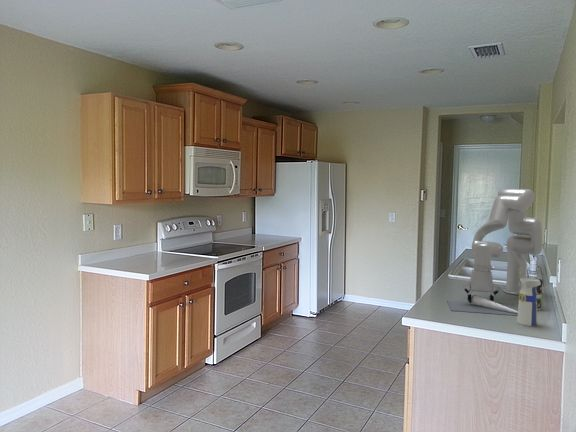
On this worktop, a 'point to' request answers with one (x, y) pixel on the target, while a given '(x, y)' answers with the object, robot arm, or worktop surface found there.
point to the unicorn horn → (490, 304)
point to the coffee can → (538, 290)
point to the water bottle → (527, 301)
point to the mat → (477, 308)
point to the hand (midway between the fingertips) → (480, 302)
